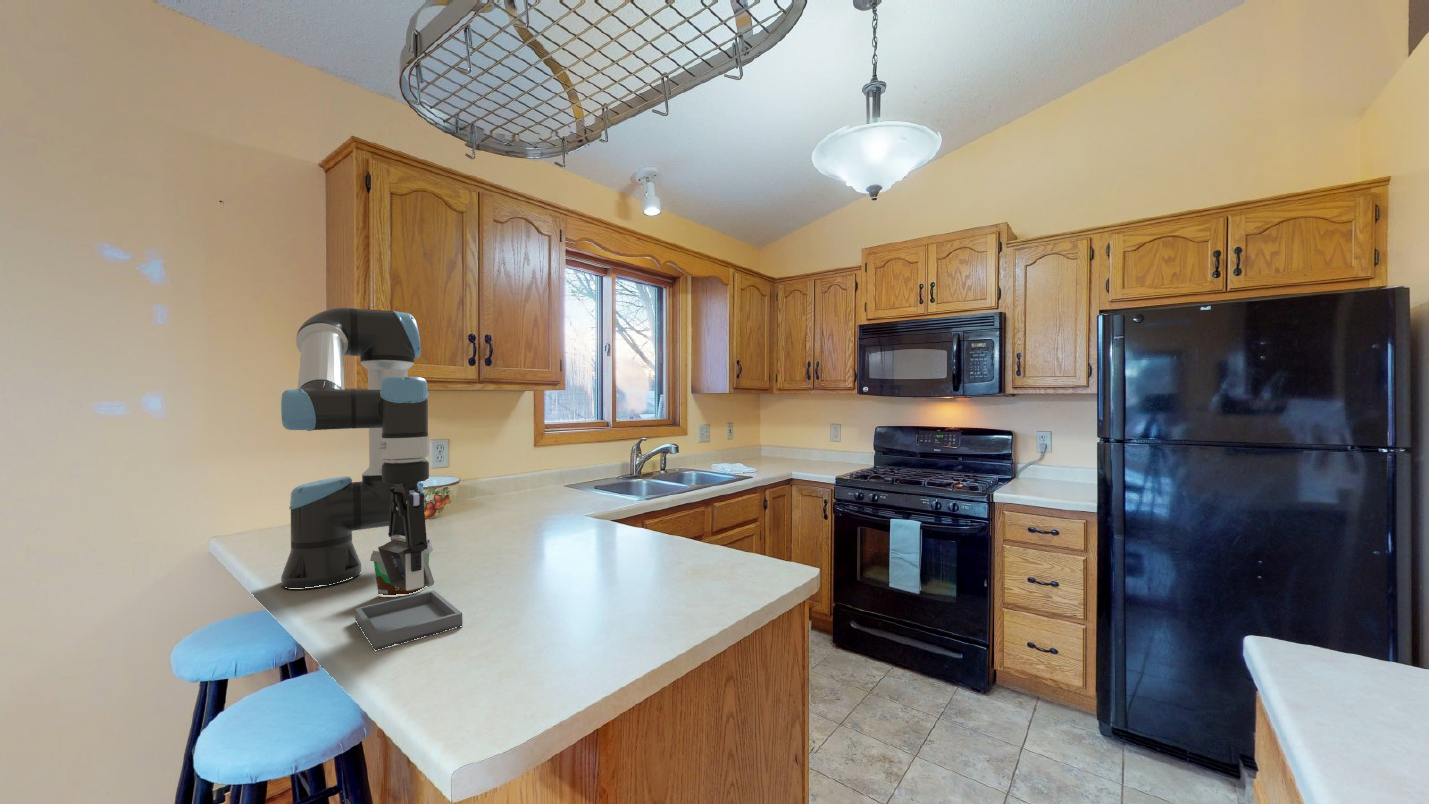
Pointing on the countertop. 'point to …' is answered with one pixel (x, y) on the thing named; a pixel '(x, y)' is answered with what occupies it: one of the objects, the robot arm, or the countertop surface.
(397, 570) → the electrical switch
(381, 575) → the food container
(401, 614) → the back box
